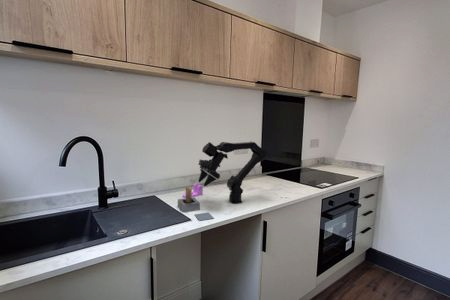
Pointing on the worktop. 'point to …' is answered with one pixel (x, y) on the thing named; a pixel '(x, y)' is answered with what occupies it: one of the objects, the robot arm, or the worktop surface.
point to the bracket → (196, 191)
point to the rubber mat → (204, 216)
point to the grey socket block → (188, 205)
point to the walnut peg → (188, 194)
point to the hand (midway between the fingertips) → (201, 183)
